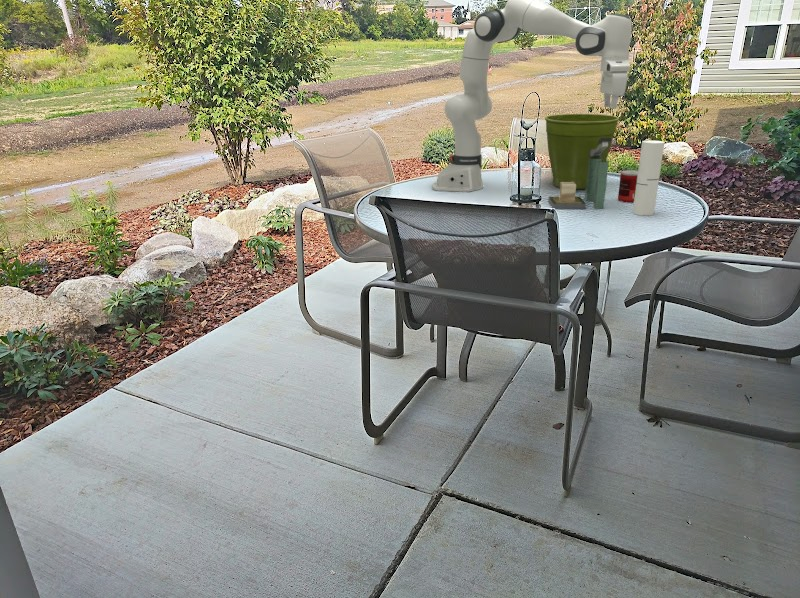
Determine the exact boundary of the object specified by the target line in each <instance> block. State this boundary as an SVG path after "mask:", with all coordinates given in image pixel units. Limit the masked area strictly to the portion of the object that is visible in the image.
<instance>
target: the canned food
mask: <svg viewBox="0 0 800 598" xmlns="http://www.w3.org/2000/svg"><path fill="white" fill-rule="evenodd" d="M637 176H638V170H633V169H629V170H628V169H627V170H622V171H621V172H620V177H619V178H620V179H619V185H618V186H619V187H618V193H617V200H618V201H619V202H621V201H623V202H622V203H634V198H635V191H636V183H637Z"/></svg>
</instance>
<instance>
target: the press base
mask: <svg viewBox="0 0 800 598" xmlns="http://www.w3.org/2000/svg"><path fill="white" fill-rule="evenodd" d="M608 171H609V161H608V160H606V161H602V159H601V158H600V157H589V159H588V169H587V179H586V189H584V190H585V191H584V199H582V197H581V196H575V201H561V200H560V198H559V196H548V197H547V202H548V204H549V206H550V207H551V206H552V207H551V208H555V209H554V210H586V209H587V203H586V202H593V208H594V209H595V210H601V209H602V210H603V209H604V207H605V206H604V205H605V198H606V188H607V182H608V181H607V179H608ZM584 200H585V201H586V202H585V201H584Z"/></svg>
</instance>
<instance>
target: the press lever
mask: <svg viewBox="0 0 800 598" xmlns="http://www.w3.org/2000/svg"><path fill="white" fill-rule="evenodd" d="M610 142H611V138H600V139H599V140H598V144H600V145H599V146H598V147H597V148H596V149H590V152H589V156H590V157H601V156H602V152H603V151H604V150H605V149H606V148H607V147H608V144H609V143H610Z"/></svg>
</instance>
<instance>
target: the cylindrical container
mask: <svg viewBox="0 0 800 598" xmlns="http://www.w3.org/2000/svg"><path fill="white" fill-rule="evenodd" d="M664 148H665V141H662V140H642V142H641V146H640V155H639V160H638V161H639V162H638V169H637V171H638V176H637V183H636V191H635V198H634V202H633V207H632V214H634V213H635V214H634V215H636V214H638V215H637V216H643V215H649V216H654V215H655V208H656V202H657V196H658V189H659V181H660V175H661V169H662V163H663V162H662V161H663V157H664V156H663V155H664Z"/></svg>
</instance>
